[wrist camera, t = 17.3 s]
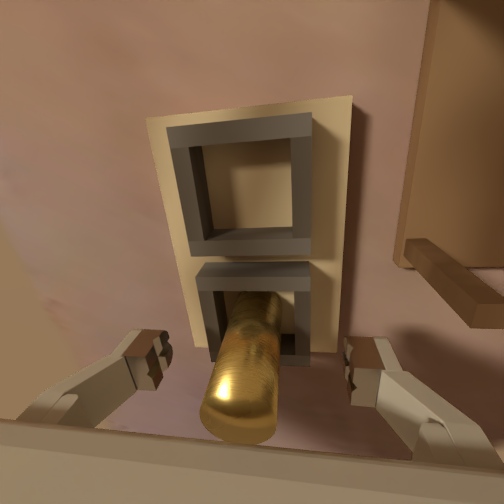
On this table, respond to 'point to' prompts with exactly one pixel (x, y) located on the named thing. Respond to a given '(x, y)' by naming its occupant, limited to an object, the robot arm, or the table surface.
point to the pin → (246, 372)
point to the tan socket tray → (258, 214)
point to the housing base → (458, 160)
